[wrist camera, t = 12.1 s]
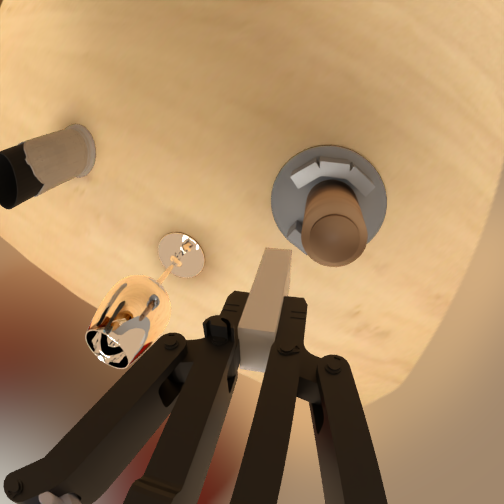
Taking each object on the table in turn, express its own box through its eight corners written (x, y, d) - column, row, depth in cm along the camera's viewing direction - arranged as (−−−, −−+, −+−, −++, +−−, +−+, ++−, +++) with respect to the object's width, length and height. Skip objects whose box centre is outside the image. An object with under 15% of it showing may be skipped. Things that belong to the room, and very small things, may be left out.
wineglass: (168, 221, 42) (79, 306, 25) (214, 251, 42) (147, 354, 25) (151, 259, 46) (74, 346, 29) (193, 286, 46) (130, 385, 29)
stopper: (309, 175, 34) (305, 202, 26) (362, 184, 33) (375, 214, 25) (303, 224, 37) (296, 264, 29) (352, 232, 36) (359, 274, 28)
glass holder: (104, 161, 39) (28, 197, 27) (56, 198, 45) (-6, 236, 32) (81, 113, 36) (3, 133, 23) (37, 157, 41) (-28, 186, 29)
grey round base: (274, 140, 34) (269, 144, 30) (393, 154, 31) (400, 160, 28) (269, 247, 40) (265, 260, 37) (374, 259, 38) (378, 274, 35)
